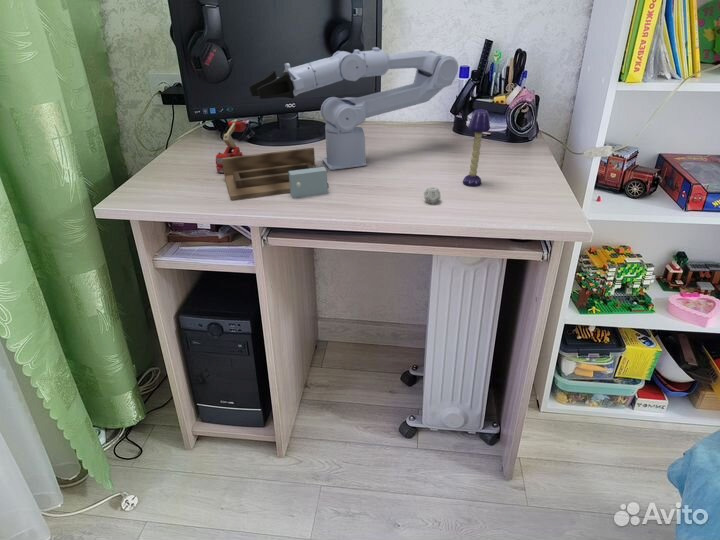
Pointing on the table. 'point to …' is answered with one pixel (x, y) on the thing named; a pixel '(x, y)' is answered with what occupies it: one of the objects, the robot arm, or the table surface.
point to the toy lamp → (476, 144)
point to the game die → (432, 195)
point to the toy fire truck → (230, 144)
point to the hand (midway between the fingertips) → (254, 92)
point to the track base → (264, 172)
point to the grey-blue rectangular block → (308, 182)
